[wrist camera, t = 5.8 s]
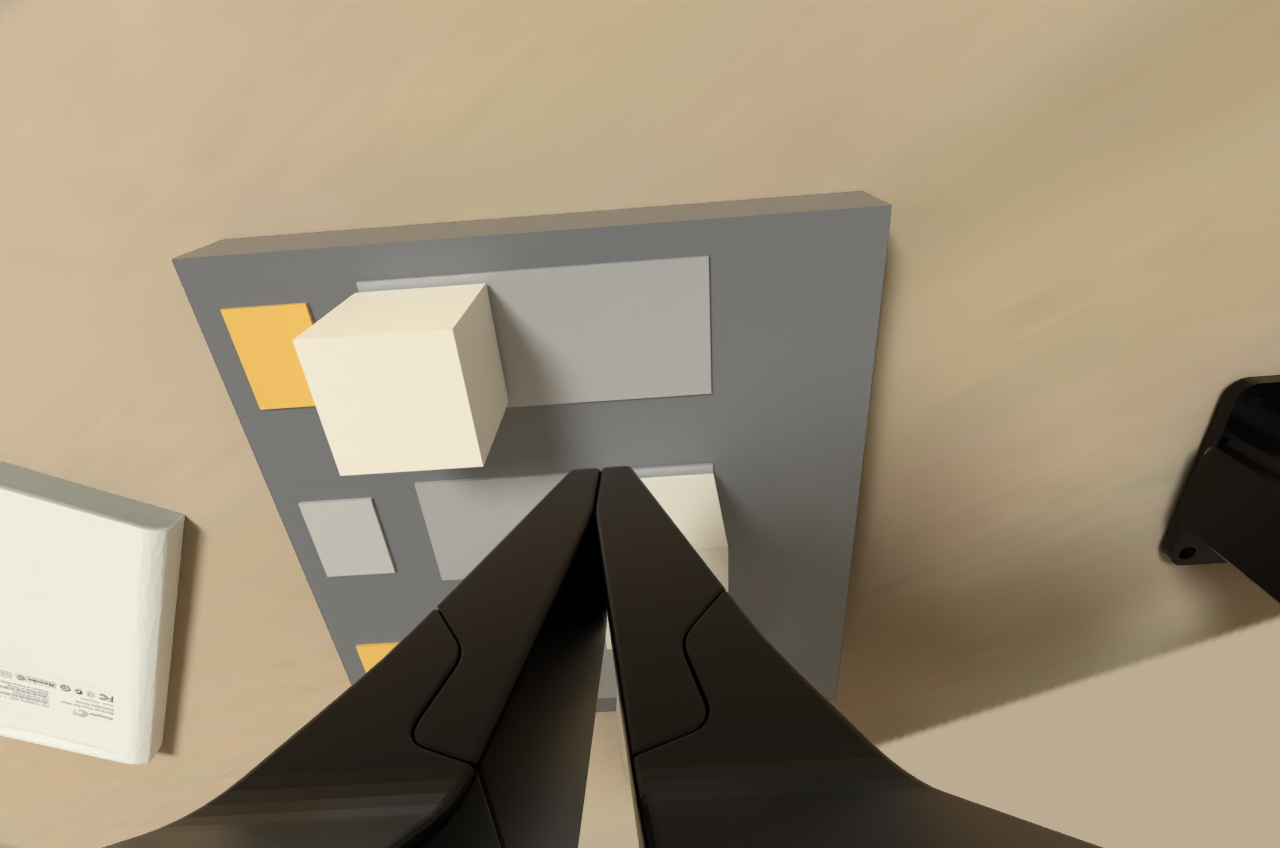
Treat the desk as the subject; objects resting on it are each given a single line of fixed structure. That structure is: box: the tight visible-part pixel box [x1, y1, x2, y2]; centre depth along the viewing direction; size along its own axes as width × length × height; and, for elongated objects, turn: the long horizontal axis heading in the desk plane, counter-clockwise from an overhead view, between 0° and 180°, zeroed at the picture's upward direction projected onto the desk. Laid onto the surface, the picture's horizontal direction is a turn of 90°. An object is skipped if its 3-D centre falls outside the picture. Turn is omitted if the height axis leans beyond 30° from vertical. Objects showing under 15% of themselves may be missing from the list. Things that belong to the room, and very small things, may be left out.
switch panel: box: [172, 191, 892, 712], centre depth 19 cm, size 16×16×2 cm
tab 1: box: [292, 283, 509, 476], centre depth 14 cm, size 3×3×3 cm
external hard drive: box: [0, 461, 185, 764], centre depth 22 cm, size 2×8×12 cm
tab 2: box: [606, 473, 728, 649], centre depth 16 cm, size 3×3×3 cm
